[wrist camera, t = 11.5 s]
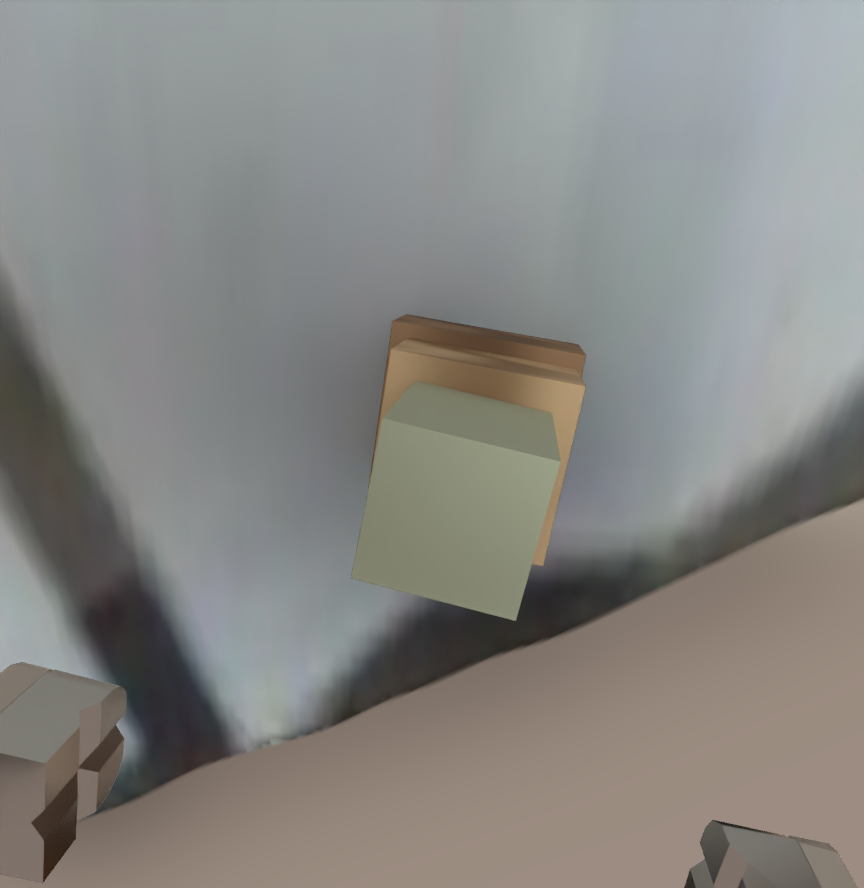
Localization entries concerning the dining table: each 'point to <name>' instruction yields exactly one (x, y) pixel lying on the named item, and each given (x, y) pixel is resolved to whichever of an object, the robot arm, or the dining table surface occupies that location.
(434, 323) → the tower base
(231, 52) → the dining table surface
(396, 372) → the tower top
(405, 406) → the green block
